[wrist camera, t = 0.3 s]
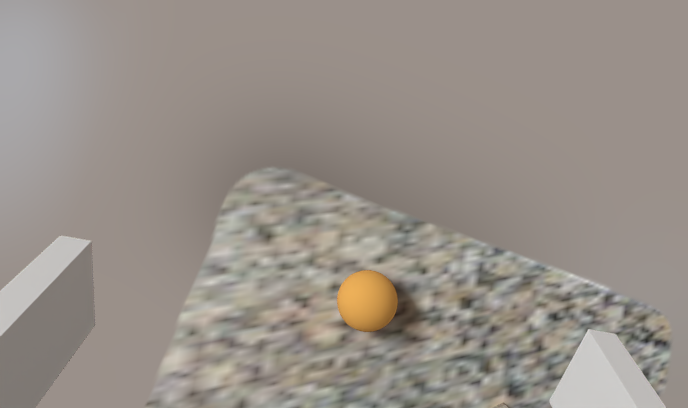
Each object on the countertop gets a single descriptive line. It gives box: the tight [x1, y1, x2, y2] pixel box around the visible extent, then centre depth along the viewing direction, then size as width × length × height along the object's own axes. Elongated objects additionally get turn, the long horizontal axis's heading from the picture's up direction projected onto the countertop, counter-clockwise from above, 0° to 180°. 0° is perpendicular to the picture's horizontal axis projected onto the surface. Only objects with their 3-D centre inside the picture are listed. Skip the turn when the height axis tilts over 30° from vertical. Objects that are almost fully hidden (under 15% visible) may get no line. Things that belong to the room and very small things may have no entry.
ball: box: [337, 270, 398, 332], centre depth 44 cm, size 6×6×6 cm
